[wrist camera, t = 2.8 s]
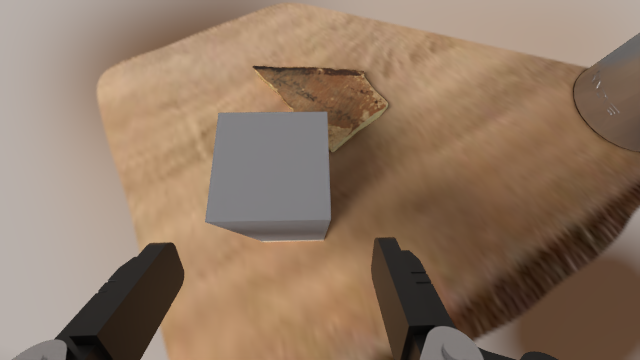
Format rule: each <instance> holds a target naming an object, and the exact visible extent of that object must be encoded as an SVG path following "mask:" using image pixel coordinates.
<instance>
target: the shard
mask: <svg viewBox="0 0 640 360" xmlns="http://www.w3.org/2000/svg"><path fill="white" fill-rule="evenodd" d="M253 68H254V70H255V71H256V73H257V74H258V76H259V78H260V79H261V80H263V81H264V82H265V83H266V84H267V85H268V86H269V87H270V88H271V89H272V90H273V91H275V92H276V93H277V94H278V95H280V96H281V98H282V99H283V101H284V103H285V104H286V105H287V106H288V107H289V108H290V109H291V110H293V112H327V120H328V148H329V150H330V151H331V152H335V151H336V150H337V149H338V148H339V147H340V146H341V145H343V144H344V143H345V142H346V141H347V140H349V139H350V138H351V137H352V136H353V135H354V134H355V133H357V132H358V131H359V130H361V129H363V128H364V127H366V126H368V125H369V124H370V123H372V122H373V121H374V120H376V119H378V118H379V117H380V116H381V115H382V113H383V112H384V111H385V110H386V109H387V107H388V102H386V101H385V99H384V98H383V97H381V96H380V95H379V94H378V93H377V92H376V91H375V90H374V89H373V88H372V86H370V84H369V82H368V81H367V79H366V78H365V77H364V71H357V70H348V69H339V70H334V69H331V68H316V67H282V68H279V67H276V68H274V67H265V66H253Z"/></svg>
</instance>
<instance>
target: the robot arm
mask: <svg viewBox="0 0 640 360" xmlns="http://www.w3.org/2000/svg"><path fill="white" fill-rule="evenodd" d="M574 99H575V102H576V106H577V108H578V110H579V112H580V114H581V116H582V117H583V118H584V120H585V121H586V122H587V123H588V125H589V126H590V127H591V128H593V129H594V130H595V131H596V132H597V133H598V134H599V135H601V136H602V137H604V138H605V139H606V140H608V141H610V142H612V143H614V144H616V145H618V146H620V147H623V148H626V149H629V150H632V151H638V152H640V33H639V34H638V35H636V36H634V37H633V38H632V39H630V40H629V41H627V42H626V43H624V44H623V45H622V46H620V47H619V48H617V49H616V50H614V51H613V52H612V53H610V54H609V55H607V56H606V57H604V58H603V59H602V60H600V61H599V62H597V63H596V64H595V65H593V66H592V67H590V68H589V69H587V70H586V71H585V72H584V73H582V74H581V75H580V76H579V78H578V79H577V81H576V83H575V87H574ZM371 272H372V280H373V284H374V288H375V291H376V295H377V299H378V302H379V306H380V310H381V314H382V317H383V321H384V325H385V328H386V332H387V336H388V340H389V343H390V347H391V351H392V354H393V358H394V360H515V359H512V358H508V357H505V356H501V355H498V354H495V353H491V352H488V351H485V350H483V349H481V348H479V347H477V346H476V344H475V343H474V342H473V341H472V340H471V339H470V338H469V337H468V336H466V335H465V334H464V333H462V332H460V331H459V330H457V329H456V327H455V326H454V324H453V322H452V320H451V319H450V317H449V315H448V313H447V311H446V309H445V307H444V305H443V303H442V301H441V300H440V298H439V296H438V294H437V292H436V290H435V288H434V286H433V284H431V281H430V279H429V277H428V275H427V274H426V271H425V269H424V267H423V265H422V264H421V262H420V260H419V259H418V258H417V257H416V256H415V255H414V254H413V253H412V252H410V251H409V250H402V251H401V249H400V247H399V245H398V242H397V240H396V239H395V238H394V237H388V238H375V241H374V248H373V256H372V265H371ZM183 281H184V269H183V266H182V264H181V261H180V258H179V255H178V252H177V250H176V247H175V245H174V244H173V243H150V244H148V245H147V246H146V247H145V248H144V249H143V251H142V252H141V253H140V254H139V255H138V256H137V257H134V258H132V259H131V260H129V261H128V262H127V263H125V264H124V265H122V266H121V267H120V268H119V269H118V270H117V271H116V272H115V273H114V274H113V275H112V276H111V277H110V279H109V280H108V282H107V283H105V284H104V285H103V286H102V287H101V289H100V290H99V292H98V293H96V294H95V295H94V296H93V297H92V298H91V300H90V301H89V302H88V303H87V304H86V305H85V306H84V307H83V308H82V309H81V310H80V311H79V313H78V314H77V315H76V316H75V317H74V318H73V319H72V320H71V321H70V323H69V324H68V325H67V326H66V327H65V328H64V329H63V330H62V331H61V333H60V334H59V335H58V336H57V337H56V338H55V339H54V340H49V341H45V342H42V343H39V344H37V345H35V346H33V347H31V348H29V349H27V350H25V351H24V352H22V353H20V354H19V355H18V356H16V357H15V358H13V359H12V360H140V359H141V358H142V356H143V354H144V352H145V350H146V349H147V347H148V345H149V343H150V341H151V340H152V338H153V336H154V334H155V333H156V331H157V329H158V327H159V326H160V324H161V322H162V320H163V319H164V317H165V315H166V313H167V311H168V310H169V308H170V306H171V304H172V303H173V301H174V299H175V297H176V295H177V294H178V292H179V290H180V288H181V286H182V284H183ZM520 360H558V359H556V358H554V357H552V356H550V355H547V354H545V353H541V352H528V353H525V354H524V355H523V356H522V358H521V359H520Z"/></svg>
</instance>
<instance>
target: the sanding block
mask: <svg viewBox="0 0 640 360" xmlns="http://www.w3.org/2000/svg"><path fill="white" fill-rule="evenodd" d="M330 221H331V204H330V176H329V148H328V120H327V112H250V113H218V122H217V130H216V138H215V146H214V154H213V162H212V170H211V178H210V187H209V195H208V203H207V211H206V219H205V222H207V223H210V224H213V225H216V226H218V227H221V228H224V229H227V230H230V231H233V232H236V233H239V234H242V235H245V236H248V237H251V238H254V239H257V240H260V241H261V242H297V241H324V237H325V234H326V232H327V229H328V226H329V224H330Z"/></svg>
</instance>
